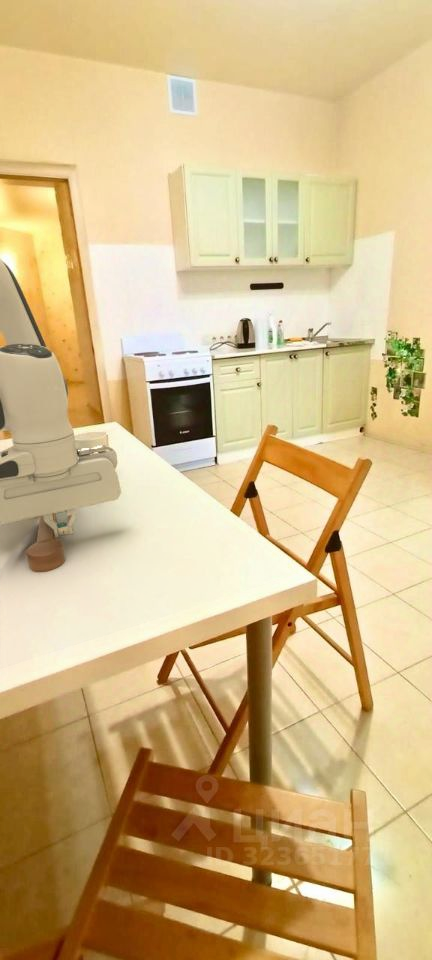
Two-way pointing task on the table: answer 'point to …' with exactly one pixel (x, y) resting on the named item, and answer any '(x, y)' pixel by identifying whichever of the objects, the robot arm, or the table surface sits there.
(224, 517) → the table surface
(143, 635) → the table surface
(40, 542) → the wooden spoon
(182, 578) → the table surface
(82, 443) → the white cup
